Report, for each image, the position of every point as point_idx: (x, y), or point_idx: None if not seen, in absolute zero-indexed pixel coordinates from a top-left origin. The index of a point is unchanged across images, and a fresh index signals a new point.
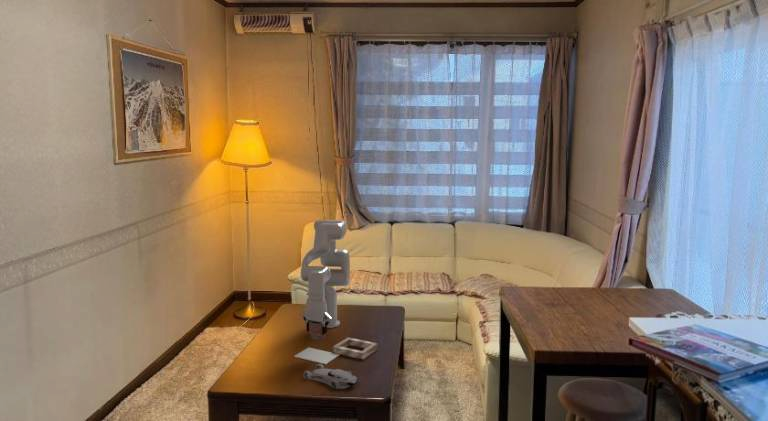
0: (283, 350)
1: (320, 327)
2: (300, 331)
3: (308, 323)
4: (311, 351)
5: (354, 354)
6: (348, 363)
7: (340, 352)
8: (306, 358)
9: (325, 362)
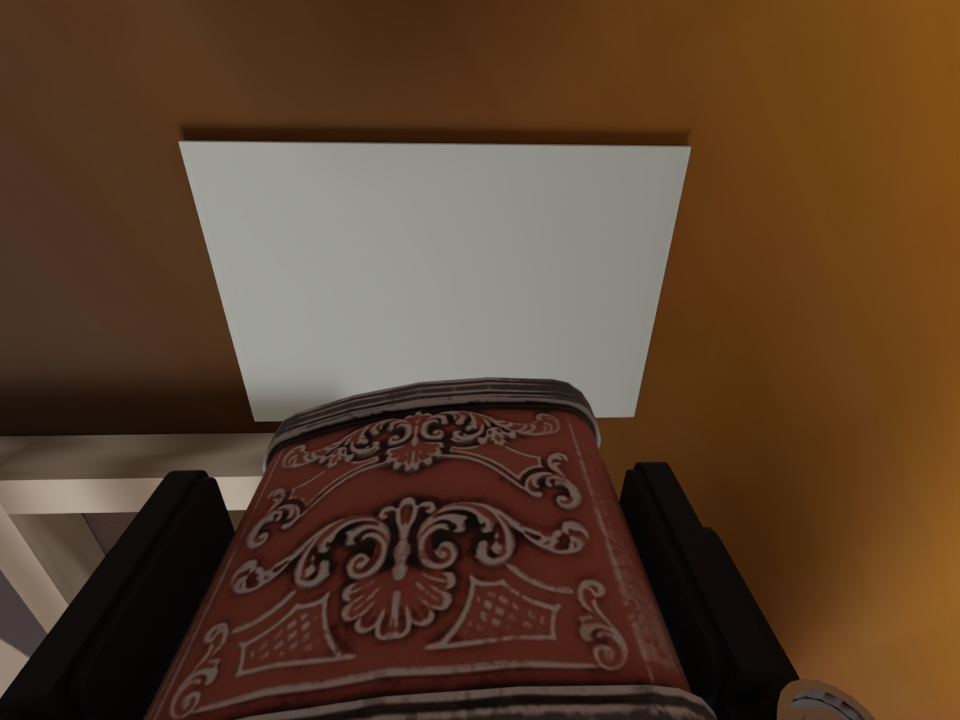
0: (883, 250)
1: (222, 649)
2: (840, 610)
3: (716, 692)
4: (556, 354)
5: (79, 456)
6: (15, 300)
7: (259, 446)
8: (501, 162)
9: (213, 175)
